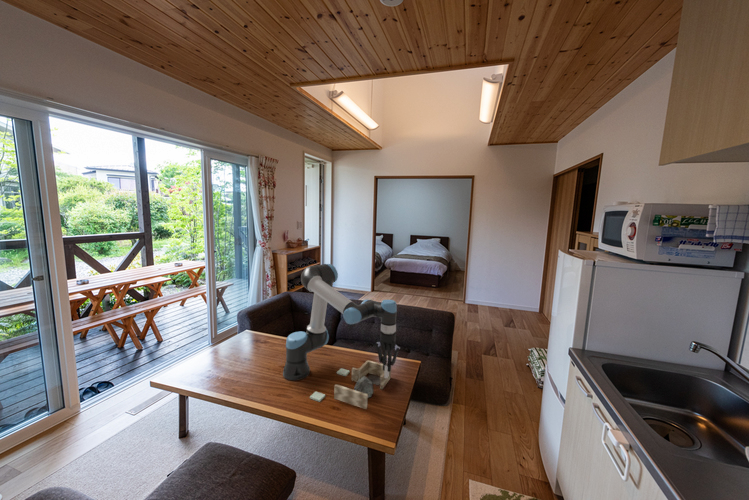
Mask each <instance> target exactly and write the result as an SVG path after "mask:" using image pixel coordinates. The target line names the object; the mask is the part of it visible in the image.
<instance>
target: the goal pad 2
mask: <svg viewBox="0 0 749 500" xmlns="http://www.w3.org/2000/svg"><path fill="white" fill-rule="evenodd" d="M349 373H351V371H350V370H349V369H345V368H342V367H341V368H339V370H337V371H336V374H337V375H339V376H343V377H347V376H348V375H349Z"/></svg>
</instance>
